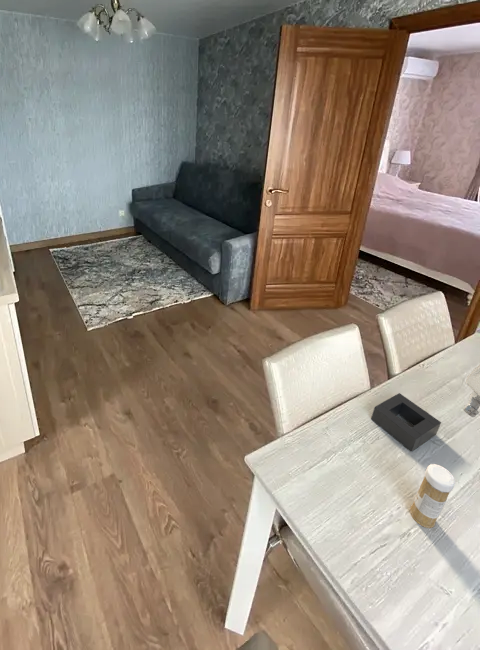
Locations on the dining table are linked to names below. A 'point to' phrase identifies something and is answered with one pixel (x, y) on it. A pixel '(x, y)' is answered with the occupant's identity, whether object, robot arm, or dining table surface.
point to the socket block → (399, 429)
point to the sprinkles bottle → (432, 495)
